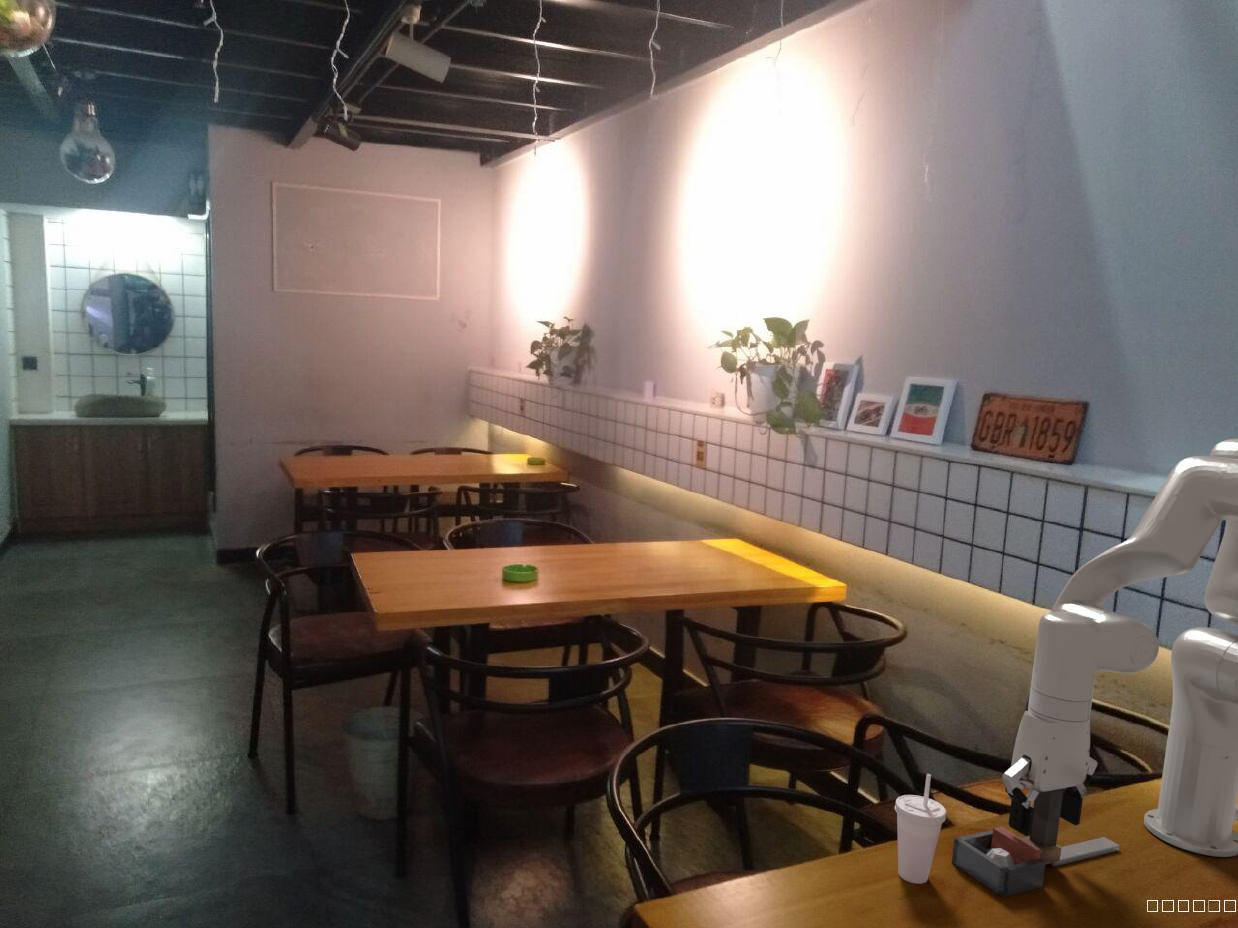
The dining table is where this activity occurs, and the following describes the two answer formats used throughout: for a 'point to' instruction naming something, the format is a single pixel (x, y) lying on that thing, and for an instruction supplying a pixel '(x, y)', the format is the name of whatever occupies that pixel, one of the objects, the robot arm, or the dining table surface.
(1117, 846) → the rail
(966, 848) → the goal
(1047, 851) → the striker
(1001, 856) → the game die
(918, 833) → the smoothie
